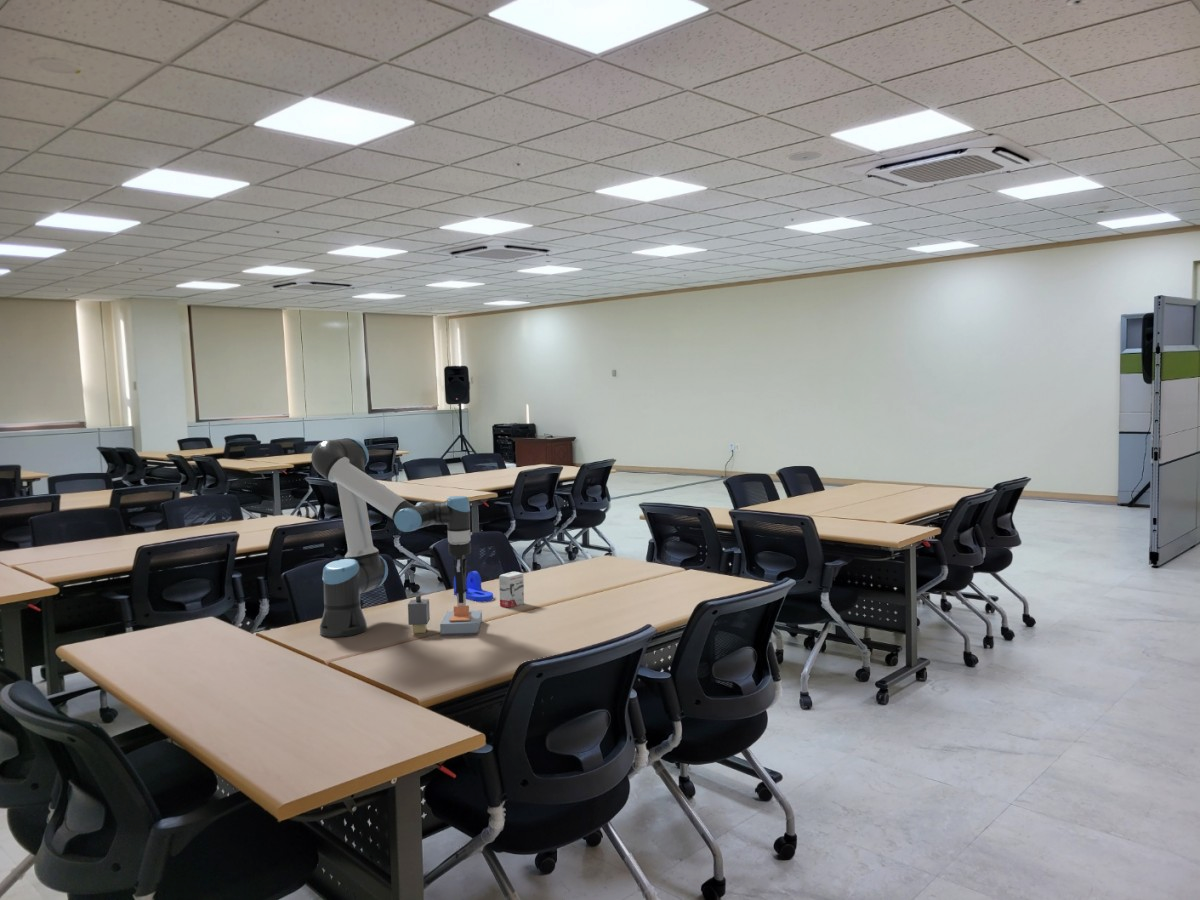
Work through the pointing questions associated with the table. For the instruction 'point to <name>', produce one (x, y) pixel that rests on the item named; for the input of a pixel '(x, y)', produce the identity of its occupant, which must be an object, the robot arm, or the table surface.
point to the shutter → (461, 614)
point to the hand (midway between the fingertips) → (461, 611)
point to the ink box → (511, 589)
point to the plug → (418, 614)
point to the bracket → (475, 588)
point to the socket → (461, 625)
